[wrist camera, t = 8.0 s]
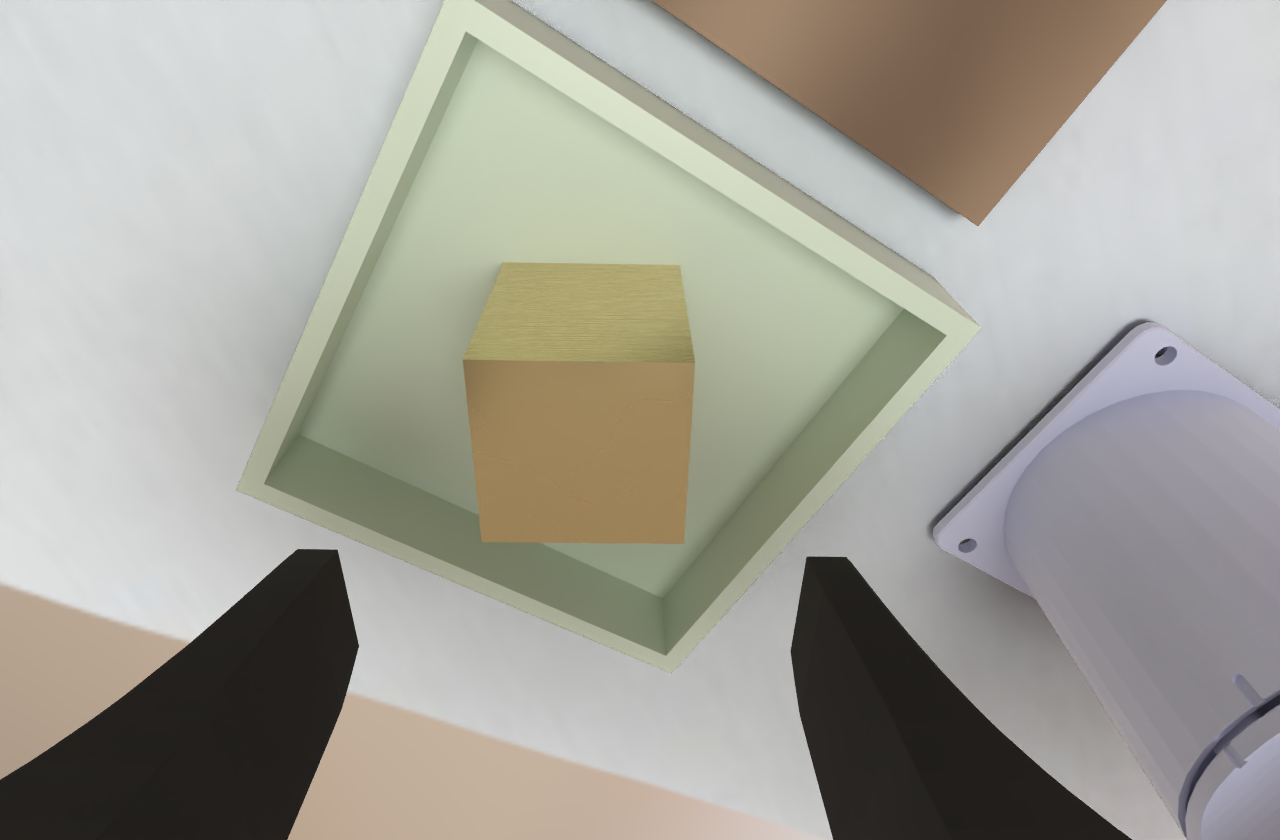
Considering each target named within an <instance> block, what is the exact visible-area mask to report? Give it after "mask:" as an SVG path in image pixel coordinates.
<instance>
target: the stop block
mask: <svg viewBox="0 0 1280 840" xmlns="http://www.w3.org/2000/svg"><path fill="white" fill-rule="evenodd" d="M463 368H464V378H465V387H466V397H467V406H468V416H469V425H470V435H471V444H472V454H473V463H474V473H475V482H476V492H477V501H478V511H479V520H480V530H481V539H482V542H533V543H641V544H684V536H685V520H686V504H687V488H688V472H689V455H690V439H691V423H692V407H693V391H694V375H695V358H694V352H693V345H692V339H691V333H690V327H689V320H688V314H687V308H686V301H685V295H684V289H683V283H682V276H681V270H680V265H645V264H583V263H521V262H503V264H502V267H501V269H500V272H499V274H498V276H497V279H496V281H495V283H494V286H493V288H492V291H491V293H490V295H489V298H488V300H487V303H486V305H485V307H484V310H483V312H482V315H481V317H480V319H479V322H478V324H477V327H476V329H475V331H474V334H473V336H472V338H471V341H470V343H469V346H468V348H467V350H466V353H465V355H464V358H463Z"/></svg>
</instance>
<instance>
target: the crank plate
mask: <svg viewBox="0 0 1280 840" xmlns="http://www.w3.org/2000/svg"><path fill="white" fill-rule="evenodd" d="M652 1H653V2H655V3H656V4H658V5H659V6H660V7H662V8H663V9H665V10H666V11H668V12H669V13H671V14H672V15H673V16H675V17H676V18H678V19H679V20H681V21H682V22H684V23H685V24H686V25H688V26H689V27H691V28H692V29H694V30H695V31H697V32H698V33H699V34H701V35H702V36H704V37H705V38H707V39H708V40H710V41H711V42H712V43H714V44H715V45H717V46H718V47H720V48H721V49H723V50H724V51H725V52H727V53H728V54H730V55H731V56H733V57H734V58H736V59H737V60H738V61H740V62H741V63H743V64H744V65H746V66H747V67H748V68H750V69H751V70H753V71H754V72H756V73H757V74H759V75H760V76H761V77H763V78H764V79H766V80H767V81H769V82H770V83H772V84H773V85H774V86H776V87H777V88H779V89H780V90H782V91H783V92H785V93H786V94H787V95H789V96H790V97H792V98H793V99H795V100H796V101H798V102H799V103H800V104H802V105H803V106H805V107H806V108H808V109H809V110H811V111H812V112H813V113H815V114H816V115H818V116H819V117H821V118H822V119H824V120H825V121H826V122H828V123H829V124H831V125H832V126H834V127H835V128H837V129H838V130H839V131H841V132H842V133H844V134H845V135H847V136H848V137H850V138H851V139H852V140H854V141H855V142H857V143H858V144H860V145H861V146H863V147H864V148H865V149H867V150H868V151H870V152H871V153H873V154H874V155H876V156H877V157H878V158H880V159H881V160H883V161H884V162H886V163H887V164H889V165H890V166H891V167H893V168H894V169H896V170H897V171H899V172H900V173H902V174H903V175H904V176H906V177H907V178H909V179H910V180H912V181H913V182H915V183H916V184H917V185H919V186H920V187H922V188H923V189H925V190H926V191H928V192H929V193H930V194H932V195H933V196H935V197H936V198H938V199H939V200H941V201H942V202H943V203H945V204H946V205H948V206H949V207H951V208H952V209H954V210H955V211H956V212H958V213H959V214H961V215H962V216H964V217H965V218H967V219H968V220H969V221H971V222H972V223H974V224H975V225H977V226H979V225H980V223H981V222H982V221H983V220H984V219H985V217H986V216H987V215H988V214H989V213H990V211H991V210H992V209H993V208H994V207H995V206H996V204H997V203H998V202H999V201H1000V200H1001V198H1002V197H1003V196H1004V195H1005V194H1006V192H1007V191H1008V190H1009V189H1010V188H1011V186H1012V185H1013V184H1014V183H1015V182H1016V180H1017V179H1018V178H1019V177H1020V176H1021V174H1022V173H1023V172H1024V171H1025V170H1026V168H1027V167H1028V166H1029V165H1030V164H1031V162H1032V161H1033V160H1034V159H1035V158H1036V156H1037V155H1038V154H1039V153H1040V152H1041V150H1042V149H1043V148H1044V147H1045V146H1046V144H1047V143H1048V142H1049V141H1050V140H1051V138H1052V137H1053V136H1054V135H1055V134H1056V132H1057V131H1058V130H1059V129H1060V128H1061V126H1062V125H1063V124H1064V123H1065V122H1066V120H1067V119H1068V118H1069V117H1070V116H1071V114H1072V113H1073V112H1074V111H1075V110H1076V109H1077V107H1078V106H1079V105H1080V104H1081V103H1082V101H1083V100H1084V99H1085V98H1086V97H1087V95H1088V94H1089V93H1090V92H1091V91H1092V89H1093V88H1094V87H1095V86H1096V85H1097V83H1098V82H1099V81H1100V80H1101V79H1102V77H1103V76H1104V75H1105V74H1106V73H1107V71H1108V70H1109V69H1110V68H1111V67H1112V65H1113V64H1114V63H1115V62H1116V61H1117V59H1118V58H1119V57H1120V56H1121V55H1122V53H1123V52H1124V51H1125V50H1126V49H1127V47H1128V46H1129V45H1130V44H1131V43H1132V41H1133V40H1134V39H1135V38H1136V37H1137V35H1138V34H1139V33H1140V32H1141V31H1142V29H1143V28H1144V27H1145V26H1146V25H1147V23H1148V22H1149V21H1150V20H1151V19H1152V17H1153V16H1154V15H1155V14H1156V13H1157V11H1158V10H1159V9H1160V8H1161V7H1162V6H1163V4H1164V3H1165V2H1166V1H1167V0H652Z"/></svg>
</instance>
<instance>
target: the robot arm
mask: <svg viewBox="0 0 1280 840" xmlns="http://www.w3.org/2000/svg"><path fill="white" fill-rule="evenodd" d="M1164 347H1167V350H1166V352H1165V353H1164V354H1163V355H1162V356H1160V357H1159V358H1155V355H1156V354H1157V352H1158V351H1159V350H1161V349H1162V348H1164ZM933 537H934V540H935V542H936V543H937V545H938V546H939V547H940V548H941V549H942V550H944V551H946V552H948V553H950V554H951V555H953V556H955V557H957V558H959V559H961V560H963V561H965V562H967V563H968V564H970V565H972V566H974V567H976V568H978V569H980V570H982V571H983V572H985V573H987V574H989V575H991V576H993V577H995V578H997V579H998V580H1000V581H1002V582H1004V583H1006V584H1008V585H1010V586H1012V587H1014V588H1015V589H1017V590H1019V591H1021V592H1023V593H1025V594H1027V595H1029V596H1030V597H1032V598H1034V599H1036V601H1037V603H1038V604H1039V606H1040V607H1041V609H1042V611H1043V612H1044V614H1045V615H1046V617H1047V619H1048V620H1049V622H1050V623H1051V625H1052V626H1053V628H1054V630H1055V631H1056V633H1057V634H1058V636H1059V638H1060V639H1061V641H1062V642H1063V644H1064V645H1065V647H1066V649H1067V650H1068V652H1069V653H1070V655H1071V657H1072V658H1073V660H1074V661H1075V663H1076V665H1077V666H1078V668H1079V669H1080V671H1081V672H1082V674H1083V676H1084V677H1085V679H1086V680H1087V682H1088V684H1089V685H1090V687H1091V688H1092V690H1093V691H1094V693H1095V695H1096V696H1097V698H1098V699H1099V701H1100V703H1101V704H1102V706H1103V707H1104V709H1105V711H1106V712H1107V714H1108V715H1109V717H1110V718H1111V720H1112V722H1113V723H1114V725H1115V726H1116V728H1117V730H1118V731H1119V733H1120V734H1121V736H1122V737H1123V739H1124V741H1125V742H1126V744H1127V745H1128V747H1129V749H1130V750H1131V752H1132V753H1133V755H1134V757H1135V758H1136V760H1137V761H1138V763H1139V764H1140V766H1141V768H1142V769H1143V771H1144V772H1145V774H1146V776H1147V777H1148V779H1149V780H1150V782H1151V784H1152V785H1153V787H1154V788H1155V790H1156V791H1157V793H1158V795H1159V796H1160V798H1161V799H1162V801H1163V803H1164V804H1165V806H1166V807H1167V809H1168V810H1169V812H1170V814H1171V815H1172V817H1173V818H1174V820H1175V822H1176V823H1177V825H1178V826H1179V828H1180V830H1181V831H1182V833H1183V834H1184V836H1185V837H1186V838H1187V840H1280V409H1279V408H1278V407H1276V406H1275V405H1273V404H1272V403H1270V402H1269V401H1268V400H1266V399H1265V398H1263V397H1262V396H1261V395H1259V394H1258V393H1256V392H1255V391H1253V390H1252V389H1251V388H1249V387H1248V386H1246V385H1245V384H1244V383H1242V382H1241V381H1239V380H1238V379H1237V378H1235V377H1234V376H1232V375H1231V374H1229V373H1228V372H1227V371H1225V370H1224V369H1222V368H1221V367H1220V366H1218V365H1217V364H1215V363H1214V362H1212V361H1211V360H1210V359H1208V358H1207V357H1205V356H1204V355H1203V354H1201V353H1200V352H1198V351H1197V350H1195V349H1194V348H1193V347H1191V346H1190V345H1188V344H1187V343H1186V342H1184V341H1183V340H1181V339H1180V338H1179V337H1177V336H1176V335H1174V334H1173V333H1171V332H1170V331H1169V330H1167V329H1166V328H1164V327H1163V326H1161V325H1160V324H1157V323H1155V322H1146V323H1143V324H1141V325H1138V326H1136V327H1135V328H1134V329H1132V330H1131V331H1130V332H1129V333H1128V334H1127V335H1126V336H1125V337H1124V338H1123V339H1122V340H1121V341H1120V342H1119V343H1118V344H1117V345H1116V346H1115V347H1114V348H1113V349H1112V350H1111V351H1110V352H1109V353H1108V354H1107V355H1106V356H1105V357H1104V358H1103V359H1102V360H1101V361H1100V362H1099V363H1098V364H1097V365H1096V366H1095V367H1094V368H1093V369H1092V370H1091V371H1090V372H1089V373H1088V374H1087V375H1086V376H1085V377H1084V378H1083V379H1082V380H1081V381H1080V382H1079V383H1078V384H1077V385H1076V386H1075V387H1074V388H1073V389H1072V390H1071V391H1070V392H1069V393H1068V394H1067V395H1066V396H1065V397H1064V398H1063V399H1062V400H1061V401H1060V402H1059V403H1058V404H1057V405H1056V406H1055V407H1054V408H1053V409H1052V410H1051V411H1050V412H1049V413H1048V414H1047V415H1046V416H1045V417H1044V418H1043V419H1042V420H1041V421H1040V422H1039V423H1038V424H1037V425H1036V426H1035V427H1034V428H1033V429H1032V430H1031V431H1030V432H1029V433H1028V434H1027V435H1026V436H1025V437H1024V438H1023V439H1022V440H1021V441H1020V442H1019V443H1018V444H1017V445H1016V446H1015V447H1014V448H1013V449H1012V450H1011V451H1010V452H1009V453H1008V454H1007V455H1006V456H1005V457H1004V458H1003V459H1002V460H1001V461H1000V462H999V463H998V464H997V465H996V466H995V467H994V468H993V469H992V470H991V471H990V472H989V473H988V474H987V475H986V476H985V477H984V478H983V479H982V480H981V481H980V482H979V483H978V484H977V485H976V486H975V487H974V488H973V489H972V490H971V491H970V492H969V493H968V494H967V495H966V496H965V497H964V498H963V499H962V500H961V501H960V502H959V503H958V504H957V505H956V506H955V507H954V508H953V509H952V510H951V511H950V512H949V513H948V514H947V515H946V516H945V517H944V518H943V519H942V520H941V521H940V522H939V523H938V524H937V525H936V526H935V528H934V529H933ZM969 538H970V540H969V541H968V542H966V543H964V544H960V542H961V541H963V540H965V539H969ZM358 648H359V644H358V640H357V635H356V631H355V626H354V622H353V617H352V613H351V608H350V604H349V599H348V595H347V590H346V586H345V581H344V577H343V572H342V568H341V563H340V559H339V554H338V550H318V549H297V550H296V551H295V552H294V553H293V554H291V555H290V556H289V557H288V558H287V559H286V560H284V561H283V562H282V563H281V564H280V565H279V566H278V567H276V568H275V569H274V570H273V571H272V572H271V573H270V574H269V575H267V576H266V577H265V578H264V579H263V580H262V581H261V582H260V583H258V584H257V585H256V586H255V587H254V588H253V589H252V590H251V591H249V592H248V593H247V594H246V595H245V596H244V597H243V598H242V599H240V600H239V601H238V602H237V603H236V604H235V605H234V606H233V607H231V608H230V609H229V610H228V611H227V612H226V613H224V614H223V615H222V616H221V617H220V618H219V619H218V620H216V621H215V622H214V623H213V624H212V625H211V626H209V627H208V628H207V629H206V630H205V631H204V632H202V633H201V634H200V635H199V636H198V637H197V638H196V639H194V640H193V641H192V642H191V643H190V644H188V645H187V646H186V647H185V648H184V649H182V650H181V651H180V652H179V653H177V654H176V655H175V656H174V657H172V658H171V659H170V660H168V661H167V662H166V663H165V664H164V665H162V666H161V667H160V668H158V669H157V670H156V671H155V672H153V673H152V674H151V675H150V676H148V677H147V678H146V679H145V680H143V681H142V682H141V683H140V684H139V685H137V686H136V687H135V688H133V689H132V690H131V691H130V692H128V693H127V694H126V695H124V696H123V697H122V698H120V699H119V700H118V701H117V702H115V703H114V704H112V705H111V706H110V707H108V708H107V709H106V710H104V711H103V712H102V713H100V714H99V715H97V716H96V717H95V718H93V719H92V720H91V721H89V722H88V723H86V724H85V725H84V726H82V727H80V728H79V729H77V730H76V731H75V732H73V733H72V734H70V735H69V736H67V737H66V738H64V739H63V740H61V741H60V742H58V743H57V744H56V745H54V746H53V747H51V748H50V749H48V750H47V751H45V752H44V753H42V754H41V755H39V756H38V757H36V758H35V759H33V760H32V761H30V762H28V763H27V764H25V765H24V766H22V767H20V768H19V769H17V770H15V771H14V772H12V773H11V774H9V775H8V776H6V777H4V778H2V779H1V780H0V840H287V839H288V836H289V834H290V832H291V829H292V827H293V825H294V822H295V820H296V817H297V815H298V813H299V810H300V808H301V806H302V803H303V801H304V798H305V796H306V794H307V791H308V789H309V787H310V784H311V782H312V779H313V777H314V775H315V772H316V770H317V768H318V765H319V763H320V760H321V758H322V755H323V753H324V751H325V748H326V746H327V744H328V741H329V738H330V736H331V734H332V731H333V729H334V727H335V724H336V721H337V719H338V716H339V714H340V712H341V709H342V706H343V702H344V699H345V696H346V692H347V689H348V685H349V682H350V678H351V674H352V670H353V667H354V663H355V659H356V655H357V651H358ZM791 657H792V665H793V672H794V679H795V686H796V693H797V699H798V706H799V712H800V717H801V721H802V725H803V728H804V732H805V736H806V740H807V744H808V747H809V751H810V755H811V759H812V762H813V766H814V770H815V774H816V777H817V781H818V785H819V788H820V792H821V796H822V799H823V803H824V807H825V810H826V814H827V818H828V821H829V825H830V829H831V833H832V836H833V840H1132V839H1131V838H1129V837H1128V836H1126V835H1125V834H1124V833H1122V832H1121V831H1120V830H1118V829H1117V828H1116V827H1114V826H1113V825H1112V824H1110V823H1109V822H1108V821H1107V820H1105V819H1104V818H1103V817H1102V816H1100V815H1099V814H1098V813H1096V812H1095V811H1094V810H1093V809H1091V808H1090V807H1089V806H1088V805H1086V804H1085V803H1084V802H1082V801H1081V800H1080V799H1079V798H1077V797H1076V796H1075V795H1073V794H1072V793H1071V792H1070V791H1068V790H1067V789H1066V788H1065V787H1064V786H1062V785H1061V784H1060V783H1059V782H1058V781H1056V780H1055V779H1054V778H1053V777H1051V776H1050V775H1049V774H1048V773H1047V772H1046V771H1044V770H1043V769H1042V768H1041V767H1040V766H1039V765H1037V764H1036V763H1035V762H1034V761H1033V760H1032V759H1031V758H1030V757H1029V756H1027V755H1026V754H1025V753H1024V752H1023V751H1022V750H1021V749H1020V748H1018V747H1017V746H1016V745H1015V744H1014V743H1013V742H1012V741H1011V740H1010V739H1008V738H1007V737H1006V736H1005V735H1004V734H1003V733H1002V732H1001V731H1000V730H999V729H998V728H996V727H995V726H994V725H993V724H992V723H991V722H990V721H989V720H988V719H987V718H986V717H985V716H984V715H983V714H982V713H981V712H980V711H979V710H978V709H977V708H976V707H975V706H974V705H973V704H972V703H971V702H970V701H969V700H968V698H967V697H966V696H965V695H964V694H963V693H962V692H961V691H960V690H959V689H958V688H957V687H956V686H955V685H954V684H953V683H952V682H951V681H950V680H949V679H948V677H947V676H946V675H945V674H944V673H943V672H942V671H941V670H940V669H939V668H938V667H937V665H936V664H935V663H934V662H933V661H932V660H931V659H930V657H929V656H928V655H927V654H926V653H925V652H924V651H923V650H922V648H921V647H920V646H919V645H918V644H917V643H916V642H915V640H914V639H913V638H912V637H911V636H910V635H909V633H908V632H907V631H906V630H905V629H904V628H903V626H902V625H901V624H900V623H899V622H898V620H897V619H896V618H895V617H894V615H893V614H892V613H891V612H890V611H889V609H888V608H887V607H886V606H885V604H884V603H883V602H882V601H881V599H880V598H879V597H878V596H877V594H876V593H875V592H874V591H873V589H872V588H871V587H870V586H869V584H868V583H867V582H866V581H865V579H864V578H863V577H862V575H861V574H860V573H859V572H858V570H857V569H856V568H855V567H854V565H853V564H852V563H851V562H850V561H849V560H848V559H847V557H807V558H806V564H805V570H804V576H803V582H802V588H801V594H800V600H799V605H798V611H797V617H796V623H795V629H794V635H793V641H792V647H791Z"/></svg>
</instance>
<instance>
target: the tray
mask: <svg viewBox="0 0 1280 840" xmlns="http://www.w3.org/2000/svg"><path fill="white" fill-rule="evenodd" d="M503 262H521V263H583V264H645V265H680V270H681V276H682V283H683V289H684V295H685V301H686V308H687V314H688V320H689V327H690V333H691V339H692V345H693V352H694V358H695V375H694V391H693V407H692V423H691V439H690V455H689V472H688V488H687V504H686V520H685V536H684V544H641V543H533V542H482V539H481V530H480V520H479V511H478V501H477V492H476V482H475V473H474V463H473V454H472V444H471V435H470V425H469V416H468V406H467V397H466V387H465V378H464V368H463V358H464V355H465V353H466V350H467V348H468V346H469V343H470V341H471V338H472V336H473V334H474V331H475V329H476V327H477V324H478V322H479V319H480V317H481V315H482V312H483V310H484V307H485V305H486V303H487V300H488V298H489V295H490V293H491V291H492V288H493V286H494V283H495V281H496V279H497V276H498V274H499V272H500V269H501V267H502V264H503ZM980 329H981V327H980V326H979V325H978V324H977V323H976V322H975V321H974V320H973V318H972V317H971V316H970V315H969V314H968V313H967V312H966V311H965V310H964V309H963V308H962V307H961V306H960V305H959V304H958V303H957V302H956V301H955V299H954V298H953V297H952V296H951V295H950V294H949V293H948V292H947V291H946V290H945V289H944V288H943V287H942V286H941V285H940V284H939V283H938V281H937V280H936V279H935V278H934V277H932V276H931V275H929V274H928V273H926V272H925V271H923V270H922V269H920V268H919V267H917V266H915V265H914V264H912V263H911V262H909V261H908V260H906V259H905V258H903V257H902V256H900V255H899V254H897V253H896V252H894V251H893V250H891V249H890V248H888V247H886V246H885V245H883V244H882V243H880V242H879V241H877V240H876V239H874V238H873V237H871V236H870V235H868V234H867V233H865V232H864V231H862V230H861V229H859V228H857V227H856V226H854V225H853V224H851V223H850V222H848V221H847V220H845V219H844V218H842V217H841V216H839V215H838V214H836V213H835V212H833V211H832V210H830V209H828V208H827V207H825V206H824V205H822V204H821V203H819V202H818V201H816V200H815V199H813V198H812V197H810V196H809V195H807V194H806V193H804V192H803V191H801V190H799V189H798V188H796V187H795V186H793V185H792V184H790V183H789V182H787V181H786V180H784V179H783V178H781V177H780V176H778V175H777V174H775V173H774V172H772V171H770V170H769V169H767V168H766V167H764V166H763V165H761V164H760V163H758V162H757V161H755V160H754V159H752V158H751V157H749V156H748V155H746V154H744V153H743V152H741V151H740V150H738V149H737V148H735V147H734V146H732V145H731V144H729V143H728V142H726V141H725V140H723V139H722V138H720V137H719V136H717V135H715V134H714V133H712V132H711V131H709V130H708V129H706V128H705V127H703V126H702V125H700V124H699V123H697V122H696V121H694V120H693V119H691V118H690V117H688V116H686V115H685V114H683V113H682V112H680V111H679V110H677V109H676V108H674V107H673V106H671V105H670V104H668V103H667V102H665V101H664V100H662V99H661V98H659V97H657V96H656V95H654V94H653V93H651V92H650V91H648V90H647V89H645V88H644V87H642V86H641V85H639V84H638V83H636V82H635V81H633V80H632V79H630V78H628V77H627V76H625V75H624V74H622V73H621V72H619V71H618V70H616V69H615V68H613V67H612V66H610V65H609V64H607V63H606V62H604V61H603V60H601V59H599V58H598V57H596V56H595V55H593V54H592V53H590V52H589V51H587V50H586V49H584V48H583V47H581V46H580V45H578V44H577V43H575V42H574V41H572V40H570V39H569V38H567V37H566V36H564V35H563V34H561V33H560V32H558V31H557V30H555V29H554V28H552V27H551V26H549V25H548V24H546V23H544V22H543V21H541V20H540V19H538V18H537V17H535V16H534V15H532V14H531V13H529V12H528V11H526V10H525V9H523V8H522V7H520V6H519V5H517V4H515V3H514V2H512V1H511V0H445V1H444V3H443V5H442V8H441V10H440V12H439V15H438V17H437V19H436V22H435V24H434V26H433V29H432V31H431V33H430V36H429V38H428V41H427V43H426V45H425V48H424V50H423V52H422V55H421V57H420V59H419V62H418V64H417V66H416V69H415V71H414V73H413V76H412V78H411V80H410V83H409V85H408V87H407V90H406V92H405V94H404V97H403V99H402V102H401V104H400V106H399V109H398V111H397V113H396V116H395V118H394V120H393V123H392V125H391V127H390V130H389V132H388V134H387V137H386V139H385V141H384V144H383V146H382V148H381V151H380V153H379V155H378V158H377V160H376V162H375V165H374V167H373V170H372V172H371V174H370V177H369V179H368V181H367V184H366V186H365V188H364V191H363V193H362V195H361V198H360V200H359V202H358V205H357V207H356V209H355V212H354V214H353V216H352V219H351V221H350V223H349V226H348V228H347V230H346V233H345V235H344V238H343V240H342V242H341V245H340V247H339V249H338V252H337V254H336V256H335V259H334V261H333V263H332V266H331V268H330V270H329V273H328V275H327V277H326V280H325V282H324V284H323V287H322V289H321V291H320V294H319V296H318V298H317V301H316V303H315V306H314V308H313V310H312V313H311V315H310V317H309V320H308V322H307V324H306V327H305V329H304V331H303V334H302V336H301V338H300V341H299V343H298V345H297V348H296V350H295V352H294V355H293V357H292V359H291V362H290V364H289V367H288V369H287V371H286V374H285V376H284V378H283V381H282V383H281V385H280V388H279V390H278V392H277V395H276V397H275V399H274V402H273V404H272V406H271V409H270V411H269V413H268V416H267V418H266V420H265V423H264V425H263V427H262V430H261V432H260V435H259V437H258V439H257V442H256V444H255V446H254V449H253V451H252V453H251V456H250V458H249V460H248V463H247V465H246V467H245V470H244V472H243V474H242V477H241V479H240V481H239V484H238V486H237V488H236V490H237V491H239V492H242V493H244V494H246V495H249V496H251V497H254V498H256V499H258V500H261V501H263V502H265V503H268V504H270V505H272V506H275V507H277V508H280V509H282V510H284V511H287V512H289V513H291V514H294V515H296V516H299V517H301V518H303V519H306V520H308V521H310V522H313V523H315V524H318V525H320V526H322V527H325V528H327V529H329V530H332V531H334V532H337V533H339V534H341V535H344V536H346V537H348V538H351V539H353V540H355V541H358V542H360V543H363V544H365V545H367V546H370V547H372V548H374V549H377V550H379V551H382V552H384V553H386V554H389V555H391V556H393V557H396V558H398V559H401V560H403V561H405V562H408V563H410V564H412V565H415V566H417V567H420V568H422V569H424V570H427V571H429V572H431V573H434V574H436V575H439V576H441V577H443V578H446V579H448V580H450V581H453V582H455V583H457V584H460V585H462V586H465V587H467V588H469V589H472V590H474V591H476V592H479V593H481V594H484V595H486V596H488V597H491V598H493V599H495V600H498V601H500V602H503V603H505V604H507V605H510V606H512V607H514V608H517V609H519V610H522V611H524V612H526V613H529V614H531V615H533V616H536V617H538V618H540V619H543V620H545V621H548V622H550V623H552V624H555V625H557V626H559V627H562V628H564V629H567V630H569V631H571V632H574V633H576V634H578V635H581V636H583V637H586V638H588V639H590V640H593V641H595V642H597V643H600V644H602V645H605V646H607V647H609V648H612V649H614V650H616V651H619V652H621V653H624V654H626V655H628V656H631V657H633V658H635V659H638V660H640V661H642V662H645V663H647V664H650V665H652V666H654V667H657V668H659V669H661V670H664V671H666V672H669V673H671V674H672V673H673V672H674V671H675V669H676V668H677V667H678V666H679V665H680V664H681V663H682V662H683V661H684V659H685V658H686V657H687V656H688V655H689V654H690V653H691V652H692V650H693V649H694V648H695V647H696V646H697V645H698V644H699V643H700V642H701V640H702V639H703V638H704V637H705V636H706V635H707V634H708V633H709V632H710V630H711V629H712V628H713V627H714V626H715V625H716V624H717V623H718V621H719V620H720V619H721V618H722V617H723V616H724V615H725V614H726V613H727V611H728V610H729V609H730V608H731V607H732V606H733V605H734V604H735V603H736V601H737V600H738V599H739V598H740V597H741V596H742V595H743V594H744V592H745V591H746V590H747V589H748V588H749V587H750V586H751V585H752V584H753V582H754V581H755V580H756V579H757V578H758V577H759V576H760V575H761V574H762V572H763V571H764V570H765V569H766V568H767V567H768V566H769V565H770V563H771V562H772V561H773V560H774V559H775V558H776V557H777V556H778V555H779V553H780V552H781V551H782V550H783V549H784V548H785V547H786V546H787V545H788V543H789V542H790V541H791V540H792V539H793V538H794V537H795V536H796V534H797V533H798V532H799V531H800V530H801V529H802V528H803V527H804V526H805V524H806V523H807V522H808V521H809V520H810V519H811V518H812V517H813V516H814V514H815V513H816V512H817V511H818V510H819V509H820V508H821V507H822V505H823V504H824V503H825V502H826V501H827V500H828V499H829V498H830V497H831V495H832V494H833V493H834V492H835V491H836V490H837V489H838V488H839V487H840V485H841V484H842V483H843V482H844V481H845V480H846V479H847V478H848V476H849V475H850V474H851V473H852V472H853V471H854V470H855V469H856V468H857V466H858V465H859V464H860V463H861V462H862V461H863V460H864V459H865V457H866V456H867V455H868V454H869V453H870V452H871V451H872V450H873V449H874V447H875V446H876V445H877V444H878V443H879V442H880V441H881V440H882V439H883V437H884V436H885V435H886V434H887V433H888V432H889V431H890V430H891V428H892V427H893V426H894V425H895V424H896V423H897V422H898V421H899V420H900V418H901V417H902V416H903V415H904V414H905V413H906V412H907V411H908V410H909V408H910V407H911V406H912V405H913V404H914V403H915V402H916V401H917V399H918V398H919V397H920V396H921V395H922V394H923V393H924V392H925V391H926V389H927V388H928V387H929V386H930V385H931V384H932V383H933V382H934V381H935V379H936V378H937V377H938V376H939V375H940V374H941V373H942V372H943V370H944V369H945V368H946V367H947V366H948V365H949V364H950V363H951V362H952V360H953V359H954V358H955V357H956V356H957V355H958V354H959V353H960V352H961V350H962V349H963V348H964V347H965V346H966V345H967V344H968V343H969V341H970V340H971V339H972V338H973V337H974V336H975V335H976V334H977V333H978V331H979V330H980Z"/></svg>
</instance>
